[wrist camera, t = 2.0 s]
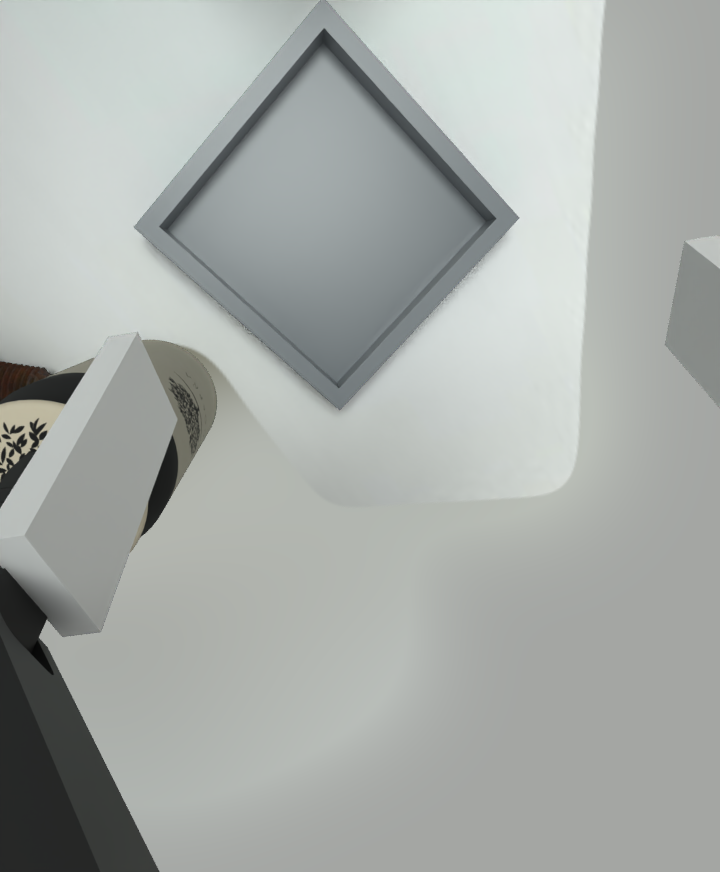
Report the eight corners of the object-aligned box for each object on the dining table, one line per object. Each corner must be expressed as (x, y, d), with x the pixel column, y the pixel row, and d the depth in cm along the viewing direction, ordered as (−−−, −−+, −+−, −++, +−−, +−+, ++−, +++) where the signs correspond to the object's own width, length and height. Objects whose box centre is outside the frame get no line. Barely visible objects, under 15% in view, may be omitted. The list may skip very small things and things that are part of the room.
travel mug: (99, 455, 39) (-58, 596, 22) (90, 336, 37) (-91, 391, 20) (218, 456, 40) (157, 594, 23) (216, 341, 38) (147, 397, 21)
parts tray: (146, 230, 36) (133, 227, 33) (321, 20, 34) (322, -3, 31) (336, 400, 40) (339, 410, 37) (502, 222, 38) (519, 218, 35)
